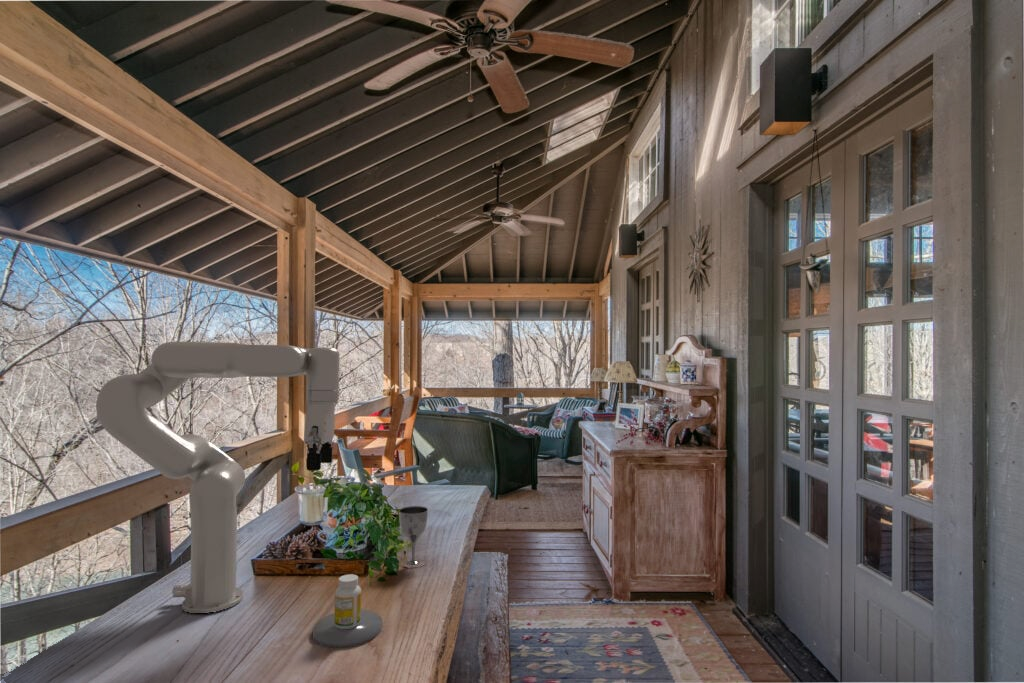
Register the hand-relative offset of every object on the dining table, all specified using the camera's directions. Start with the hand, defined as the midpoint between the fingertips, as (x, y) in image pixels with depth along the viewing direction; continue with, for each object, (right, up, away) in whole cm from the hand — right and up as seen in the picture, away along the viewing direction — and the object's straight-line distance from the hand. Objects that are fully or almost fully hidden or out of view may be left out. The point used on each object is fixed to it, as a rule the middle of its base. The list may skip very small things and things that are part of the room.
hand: (319, 466), depth 135 cm
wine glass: (+20, -32, +18) cm, 41 cm away
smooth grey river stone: (+13, -30, -20) cm, 39 cm away
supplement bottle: (+13, -29, -20) cm, 38 cm away
